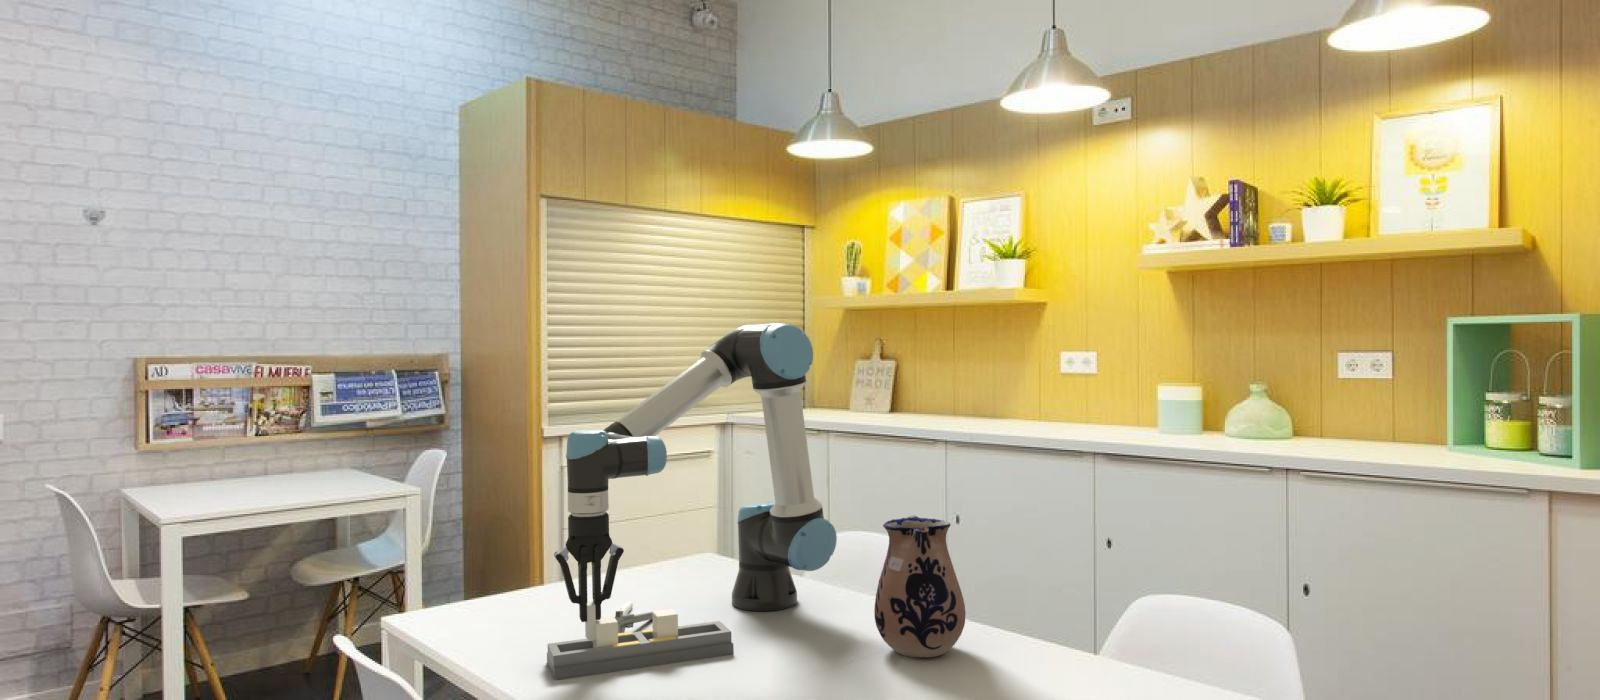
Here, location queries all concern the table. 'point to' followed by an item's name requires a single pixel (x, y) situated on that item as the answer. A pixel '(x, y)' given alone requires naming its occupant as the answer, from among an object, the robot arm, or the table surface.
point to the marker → (626, 608)
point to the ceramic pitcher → (919, 590)
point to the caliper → (630, 619)
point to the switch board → (638, 650)
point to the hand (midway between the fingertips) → (590, 637)
